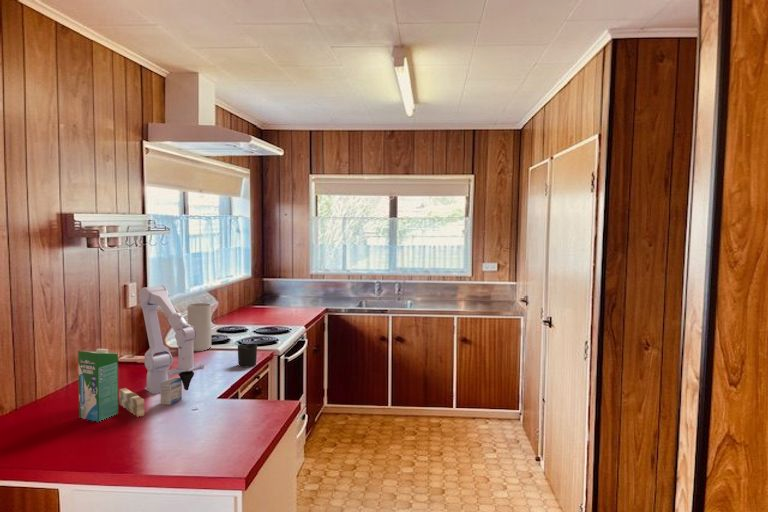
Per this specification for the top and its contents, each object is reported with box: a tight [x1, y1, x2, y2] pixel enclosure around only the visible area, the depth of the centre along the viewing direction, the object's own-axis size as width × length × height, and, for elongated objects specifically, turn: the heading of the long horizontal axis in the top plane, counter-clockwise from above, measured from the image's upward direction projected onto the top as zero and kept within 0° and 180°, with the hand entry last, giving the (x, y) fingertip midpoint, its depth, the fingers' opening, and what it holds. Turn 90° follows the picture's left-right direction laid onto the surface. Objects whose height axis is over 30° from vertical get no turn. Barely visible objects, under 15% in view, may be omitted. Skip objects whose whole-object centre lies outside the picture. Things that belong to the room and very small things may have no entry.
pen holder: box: [237, 343, 258, 367], centre depth 262 cm, size 9×9×10 cm
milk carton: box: [77, 348, 119, 423], centre depth 189 cm, size 9×9×25 cm
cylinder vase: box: [187, 302, 212, 352], centre depth 292 cm, size 12×12×25 cm
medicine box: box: [160, 376, 183, 406], centre depth 207 cm, size 8×4×9 cm, turn 169°
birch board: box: [118, 387, 145, 418], centre depth 197 cm, size 18×2×6 cm, turn 46°
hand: (186, 389), depth 212 cm, fingers closed
